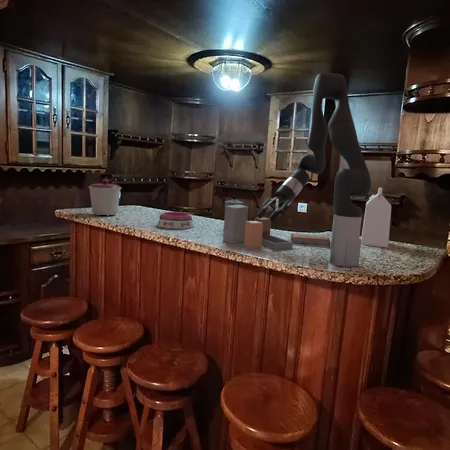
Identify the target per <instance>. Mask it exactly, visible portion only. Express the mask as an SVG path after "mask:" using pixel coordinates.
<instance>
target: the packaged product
mask: <svg viewBox="0 0 450 450" xmlns="http://www.w3.org/2000/svg"><path fill="white" fill-rule="evenodd" d="M287 241H290V242H293V246H295V245H296V246H306V247H318V248H325V249H329V250H330V248H331V239H330V237H329V236H328V235H319V234H317V235H316V234H305V233H299V232H297V233H296V232H292V233H291V235H290V237H289V238H287Z"/></svg>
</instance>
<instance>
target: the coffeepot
mask: <svg viewBox="0 0 450 450" xmlns="http://www.w3.org/2000/svg"><path fill="white" fill-rule="evenodd" d="M236 198H237V196H236V195H233V196H232V199H228V200H226V201H224V207H225V206H230V205H243V206H244V202H243V201H242V200H241V201H240V200H238V199H236ZM222 232H223V233H224V228H223V230H222Z"/></svg>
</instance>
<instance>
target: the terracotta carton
mask: <svg viewBox="0 0 450 450" xmlns="http://www.w3.org/2000/svg"><path fill="white" fill-rule="evenodd" d="M262 231H263V223H262V222H258V221H255V220H247V221H246V225H245V241H244V242H243V244H244V246H247V247H249V248H261V246H262Z"/></svg>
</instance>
